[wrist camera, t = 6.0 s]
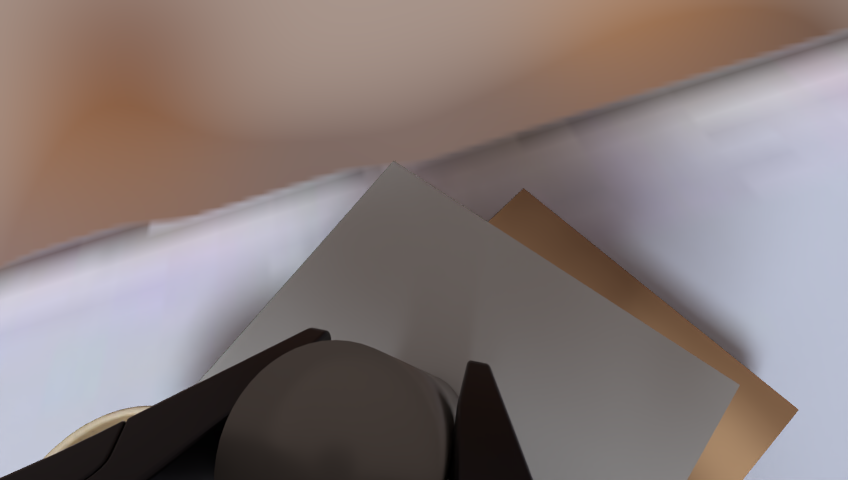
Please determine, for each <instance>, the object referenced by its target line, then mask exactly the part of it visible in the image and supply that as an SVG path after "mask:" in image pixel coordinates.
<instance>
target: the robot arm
mask: <svg viewBox="0 0 848 480" xmlns="http://www.w3.org/2000/svg"><path fill="white" fill-rule="evenodd" d="M327 340H331V335H330V332H329V331H327V330H323V329H318V328H308V329H306V330H304V331H302V332H300V333H298V334H296V335H294V336H292V337H290V338H288V339H285V340H283V341H281V342H279V343H277V344H275V345H273V346H271V347H269V348H267V349H265V350H263V351H261V352H259V353H257V354H255V355H253V356H251V357H249V358H247V359H245V360H243V361H241V362H239V363H237V364H235V365H233V366H231V367H229V368H227V369H225V370H223V371H221V372H219V373H217V374H215V375H213V376H211V377H209V378H207V379H205V380H203V381H201V382H199V383H197V384H195V385H193V386H191V387H189V388H187V389H185V390H183V391H181V392H179V393H177V394H175V395H173V396H171V397H169V398H167V399H165V400H163V401H161V402H159V403H157V404H155V405H153V406H151V407H149V408H147V409H145V410H143V411H141V412H139V413H137V414H135V415H133V416H131V417H129V418H128V419H127V421H121V422H119V423H117V424H115V425H113V426H111V427H109V428H107V429H105V430H103V431H101V432H99V433H97V434H95V435H93V436H91V437H89V438H87V439H85V440H82V441H80V442H78V443H76V444H74V445H72V446H70V447H68V448H66V449H64V450H62V451H60V452H57V453H55V454H53V455H51V456H49V457H46V458H44V459H42V460H40V461H37V462H35V463H33V464H31V465H29V466H26V467H24V468H22V469H20V470H17V471H15V472H13V473H11V474H8V475H6V476H4V477H2V478H0V480H214V469H215V461H216V454H217V450H218V445H219V441H220V437H221V434H222V432H223V429H224V426H225V423H226V421H227V419H228V417H229V414H230V412H231V410H232V408H233V406H234V405H235V403H236V401H237V400H238V398H239V396H240V395H241V394H242V392H243V391H244V390H245V388H246V387H247V386H248V384H249V383H250V382H251V381H252V380H253V379H254V378H255V377H256V376H257V374H258V373H259V372H260V371H262V370H263V369H264V368H265V367H266V366H268V365H269V364H270V363H271V362H273V361H274V360H276V359H277V358H279V357H280V356H282V355H283V354H285V353H287V352H289V351H291V350H293V349H295V348H298V347H301V346H304V345H306V344H309V343H314V342H319V341H327ZM448 480H533V477H532V475H531V472H530V470H529V467H528V464H527V462H526V459H525V456H524V454H523V451H522V448H521V446H520V443H519V441H518V438H517V435H516V433H515V430H514V427H513V425H512V422H511V420H510V417H509V414H508V412H507V409H506V406H505V404H504V401H503V399H502V396H501V393H500V391H499V388H498V385H497V383H496V380H495V377H494V375H493V372H492V370H491V367H490V365H489V364H487V363H483V362H478V361H473V360H470V361H468V362H467V365H466V369H465V373H464V378H463V382H462V386H461V390H460V394H459V398H458V403H457V409H456V417H455V425H454V434H453V442H452V454H451V465H450V472H449V477H448Z"/></svg>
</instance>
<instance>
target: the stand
mask: <svg viewBox="0 0 848 480" xmlns="http://www.w3.org/2000/svg"><path fill="white" fill-rule="evenodd" d="M489 223H490V224H492V225H493V226H495V227H496V228H498V229H500V230H501V231H503V232H504V233H506V234H507V235H509V236H510V237H512V238H513V239H515V240H517V241H518V242H520V243H521V244H523V245H524V246H526V247H527V248H529V249H530V250H532V251H534V252H535V253H537V254H538V255H540V256H541V257H543V258H544V259H546V260H547V261H549V262H551V263H552V264H554V265H555V266H557V267H558V268H560V269H561V270H563V271H564V272H566V273H568V274H569V275H571V276H572V277H574V278H575V279H577V280H578V281H580V282H581V283H583V284H585V285H586V286H588V287H589V288H591V289H592V290H594V291H595V292H597V293H598V294H600V295H601V296H603V297H605V298H606V299H608V300H609V301H611V302H612V303H614V304H615V305H617V306H618V307H620V308H622V309H623V310H625V311H626V312H628V313H629V314H631V315H632V316H634V317H635V318H637V319H639V320H640V321H642V322H643V323H645V324H646V325H648V326H649V327H651V328H652V329H654V330H656V331H657V332H659V333H660V334H662V335H663V336H665V337H666V338H668V339H669V340H671V341H673V342H674V343H676V344H677V345H679V346H680V347H682V348H683V349H685V350H686V351H688V352H690V353H691V354H693V355H694V356H696V357H697V358H699V359H700V360H702V361H703V362H705V363H707V364H708V365H710V366H711V367H713V368H714V369H716V370H717V371H719V372H720V373H722V374H723V375H725V376H727V377H728V378H730V379H731V380H733V381H734V382H736V383H737V384H739V385H740V386H739V388H738V390H737V391H736V393H735V395H734V397H733V398H732V400H731V402H730V404H729V406H728V407H727V409H726V411H725V413H724V415H723V416H722V418H721V420H720V422H719V424H718V425H717V427H716V429H715V431H714V433H713V434H712V436H711V438H710V440H709V442H708V443H707V445H706V447H705V449H704V451H703V452H702V454H701V456H700V458H699V459H698V461H697V463H696V465H695V467H694V468H693V470H692V472H691V474H690V476H689V477H688V479H687V480H743V479H744V477H745V476H746V475H747V474H748V472H749V471H750V470H751V469H752V467H753V466H754V465H755V464H756V462H757V461H758V460H759V459H760V457H761V456H762V455H763V454H764V452H765V451H766V450H767V449H768V447H769V446H770V445H771V444H772V442H773V441H774V440H775V439H776V437H777V436H778V435H779V434H780V432H781V431H782V430H783V429H784V427H785V426H786V425H787V424H788V422H789V421H790V420H791V419H792V417H793V416H794V415H795V414H796V412H797V411H798V409H797V408H796V407H795V406H793V405H792V404H791V403H790V402H788V401H787V400H786V399H785V398H783V397H782V396H781V395H780V394H778V393H777V392H776V391H775V390H773V389H772V388H771V387H770V386H768V385H767V384H766V383H765V382H764V381H762V380H761V379H760V378H759V377H757V376H756V375H755V374H754V373H752V372H751V371H750V370H749V369H747V368H746V367H745V366H744V365H742V364H741V363H740V362H739V361H737V360H736V359H735V358H734V357H732V356H731V355H730V354H729V353H728V352H726V351H725V350H724V349H723V348H721V347H720V346H719V345H718V344H716V343H715V342H714V341H713V340H711V339H710V338H709V337H708V336H706V335H705V334H704V333H703V332H701V331H700V330H699V329H698V328H696V327H695V326H694V325H693V324H691V323H690V322H689V321H688V320H687V319H685V318H684V317H683V316H682V315H680V314H679V313H678V312H677V311H675V310H674V309H673V308H672V307H670V306H669V305H668V304H667V303H665V302H664V301H663V300H662V299H660V298H659V297H658V296H657V295H655V294H654V293H653V292H652V291H651V290H649V289H648V288H647V287H646V286H644V285H643V284H642V283H641V282H639V281H638V280H637V279H636V278H634V277H633V276H632V275H631V274H629V273H628V272H627V271H626V270H624V269H623V268H622V267H621V266H619V265H618V264H617V263H616V262H615V261H613V260H612V259H611V258H610V257H608V256H607V255H606V254H605V253H603V252H602V251H601V250H600V249H598V248H597V247H596V246H595V245H593V244H592V243H591V242H590V241H588V240H587V239H586V238H585V237H583V236H582V235H581V234H580V233H578V232H577V231H576V230H575V229H574V228H572V227H571V226H570V225H569V224H567V223H566V222H565V221H564V220H562V219H561V218H560V217H559V216H557V215H556V214H555V213H554V212H552V211H551V210H550V209H549V208H547V207H546V206H545V205H544V204H542V203H541V202H540V201H539V200H538V199H536V198H535V197H534V196H533V195H531V194H530V193H529V192H528V191H526V190H525V189H524V188H523V189H522V190H521V191H520V192H519V193H518V194H517V195H516V196H515V197H514V198H513V199H512V200H511V201H510V202H509V203H508V204H506V205H505V206H504V207H503V208H502V209H501V210H500V211H499V212H498V213H497V214H496V215H495V216H494V217H493V218H492V219H491V220H490V221H489Z"/></svg>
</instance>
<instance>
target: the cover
mask: <svg viewBox="0 0 848 480" xmlns="http://www.w3.org/2000/svg"><path fill="white" fill-rule="evenodd" d="M308 328H318V329H323V330H327V331H329V332H330V335H331V340H327V341H319V342H314V343H309V344H306V345H304V346H301V347H298V348H295V349H293V350H291V351H289V352H287V353H285V354H283V355H282V356H280V357H279V358H277V359H276V360H274V361H273V362H271V363H270V364H269V365H268V366H266V367H265V368H264V369H263V370H262V371H260V372H259V373H258V374H257V376H256V377H255V378H254V379H253V380H252V381H251V382H250V383H249V384H248V386H247V387H246V388H245V390H244V391H243V392H242V394H241V395H240V396H239V398H238V400H237V401H236V403H235V405H234V406H233V408H232V410H231V412H230V414H229V417H228V419H227V421H226V423H225V426H224V429H223V432H222V434H221V437H220V441H219V445H218V450H217V454H216V461H215V469H214V480H448V477H449V472H450V465H451V454H452V442H453V434H454V425H455V417H456V409H457V403H458V398H459V394H460V390H461V386H462V382H463V378H464V373H465V369H466V365H467V362H468V361H470V360H473V361H478V362H483V363H487V364H489V365H490V367H491V370H492V372H493V375H494V377H495V380H496V383H497V385H498V388H499V391H500V393H501V396H502V399H503V401H504V404H505V406H506V409H507V412H508V414H509V417H510V420H511V422H512V425H513V427H514V430H515V433H516V435H517V438H518V441H519V443H520V446H521V448H522V451H523V454H524V456H525V459H526V462H527V464H528V467H529V470H530V472H531V475H532V477H533V480H687V479H688V477H689V476H690V474H691V472H692V470H693V468H694V467H695V465H696V463H697V461H698V459H699V458H700V456H701V454H702V452H703V451H704V449H705V447H706V445H707V443H708V442H709V440H710V438H711V436H712V434H713V433H714V431H715V429H716V427H717V425H718V424H719V422H720V420H721V418H722V416H723V415H724V413H725V411H726V409H727V407H728V406H729V404H730V402H731V400H732V398H733V397H734V395H735V393H736V391H737V390H738V388H739V386H740V385H739V384H737V383H736V382H734V381H733V380H731V379H730V378H728V377H727V376H725V375H723V374H722V373H720V372H719V371H717V370H716V369H714V368H713V367H711V366H710V365H708V364H707V363H705V362H703V361H702V360H700V359H699V358H697V357H696V356H694V355H693V354H691V353H690V352H688V351H686V350H685V349H683V348H682V347H680V346H679V345H677V344H676V343H674V342H673V341H671V340H669V339H668V338H666V337H665V336H663V335H662V334H660V333H659V332H657V331H656V330H654V329H652V328H651V327H649V326H648V325H646V324H645V323H643V322H642V321H640V320H639V319H637V318H635V317H634V316H632V315H631V314H629V313H628V312H626V311H625V310H623V309H622V308H620V307H618V306H617V305H615V304H614V303H612V302H611V301H609V300H608V299H606V298H605V297H603V296H601V295H600V294H598V293H597V292H595V291H594V290H592V289H591V288H589V287H588V286H586V285H585V284H583V283H581V282H580V281H578V280H577V279H575V278H574V277H572V276H571V275H569V274H568V273H566V272H564V271H563V270H561V269H560V268H558V267H557V266H555V265H554V264H552V263H551V262H549V261H547V260H546V259H544V258H543V257H541V256H540V255H538V254H537V253H535V252H534V251H532V250H530V249H529V248H527V247H526V246H524V245H523V244H521V243H520V242H518V241H517V240H515V239H513V238H512V237H510V236H509V235H507V234H506V233H504V232H503V231H501V230H500V229H498V228H496V227H495V226H493V225H492V224H490V223H489V222H487V221H486V220H484V219H483V218H481V217H480V216H478V215H476V214H475V213H473V212H472V211H470V210H469V209H467V208H466V207H464V206H463V205H461V204H459V203H458V202H456V201H455V200H453V199H452V198H450V197H449V196H447V195H446V194H444V193H442V192H441V191H439V190H438V189H436V188H435V187H433V186H432V185H430V184H429V183H427V182H425V181H424V180H422V179H421V178H419V177H418V176H416V175H415V174H413V173H412V172H410V171H408V170H407V169H405V168H404V167H402V166H401V165H399V164H398V163H396V162H395V161H393V162H392V163H391V164H390V166H389V167H388V168H387V169H386V170H385V171H384V172H383V174H382V175H381V176H380V177H379V178H378V179H377V180H376V181H375V183H374V184H373V185H372V186H371V187H370V188H369V189H368V191H367V192H366V193H365V194H364V195H363V196H362V197H361V198H360V200H359V201H358V202H357V203H356V204H355V205H354V206H353V208H352V209H351V210H350V211H349V212H348V213H347V214H346V215H345V217H344V218H343V219H342V220H341V221H340V222H339V223H338V224H337V226H336V227H335V228H334V229H333V230H332V231H331V232H330V234H329V235H328V236H327V237H326V238H325V239H324V240H323V241H322V243H321V244H320V245H319V246H318V247H317V248H316V249H315V251H314V252H313V253H312V254H311V255H310V256H309V257H308V258H307V260H306V261H305V262H304V263H303V264H302V265H301V266H300V268H299V269H298V270H297V271H296V272H295V273H294V274H293V275H292V277H291V278H290V279H289V280H288V281H287V282H286V283H285V285H284V286H283V287H282V288H281V289H280V290H279V291H278V292H277V294H276V295H275V296H274V297H273V298H272V299H271V300H270V302H269V303H268V304H267V305H266V306H265V307H264V308H263V309H262V311H261V312H260V313H259V314H258V315H257V316H256V317H255V319H254V320H253V321H252V322H251V323H250V324H249V325H248V326H247V328H246V329H245V330H244V331H243V332H242V333H241V334H240V336H239V337H238V338H237V339H236V340H235V341H234V342H233V343H232V345H231V346H230V347H229V348H228V349H227V350H226V351H225V353H224V354H223V355H222V356H221V357H220V358H219V359H218V360H217V362H216V363H215V364H214V365H213V366H212V367H211V368H210V370H209V371H208V372H207V373H206V374H205V375H204V376H203V377H202V379H201V380H200V381H199V382H201V381H203V380H205V379H207V378H209V377H211V376H213V375H215V374H217V373H219V372H221V371H223V370H225V369H227V368H229V367H231V366H233V365H235V364H237V363H239V362H241V361H243V360H245V359H247V358H249V357H251V356H253V355H255V354H257V353H259V352H261V351H263V350H265V349H267V348H269V347H271V346H273V345H275V344H277V343H279V342H281V341H283V340H285V339H288V338H290V337H292V336H294V335H296V334H298V333H300V332H302V331H304V330H306V329H308ZM199 382H198V383H199Z"/></svg>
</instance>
